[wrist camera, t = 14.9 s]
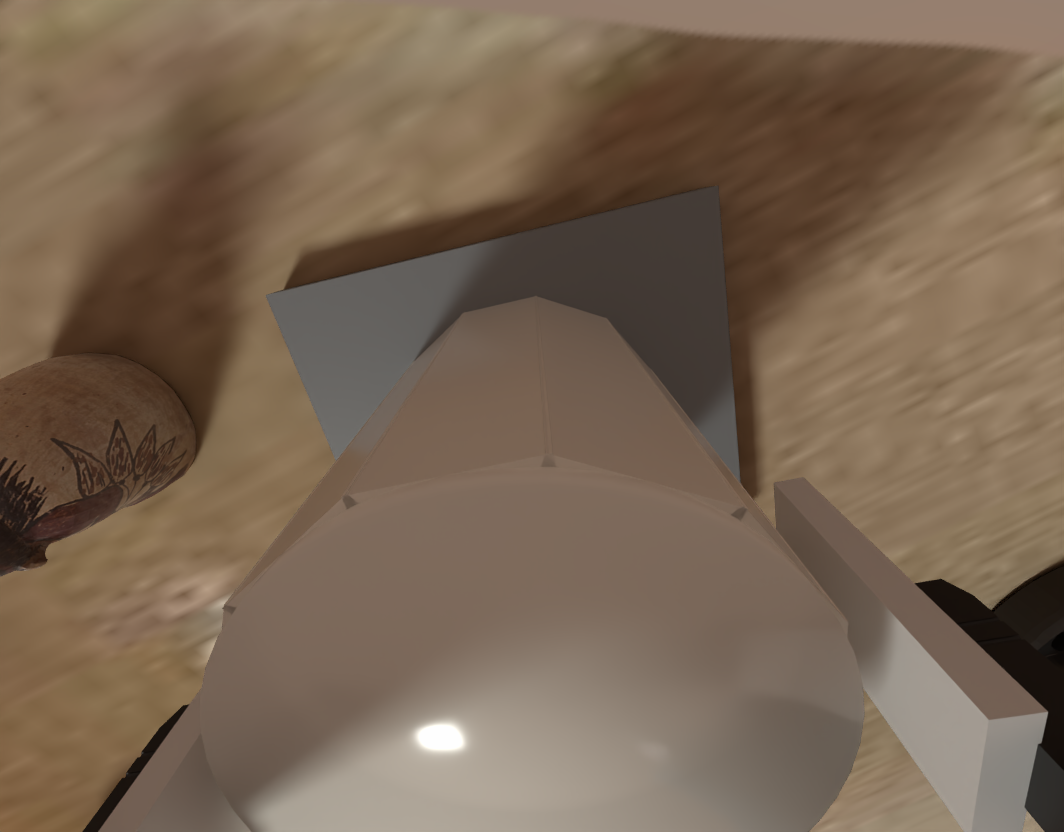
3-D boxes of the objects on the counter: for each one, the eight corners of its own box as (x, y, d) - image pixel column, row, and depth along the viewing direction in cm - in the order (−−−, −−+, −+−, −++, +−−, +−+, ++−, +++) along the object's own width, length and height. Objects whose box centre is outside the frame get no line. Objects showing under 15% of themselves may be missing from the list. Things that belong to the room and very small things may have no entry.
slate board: (704, 187, 20) (718, 185, 18) (732, 518, 26) (744, 535, 24) (282, 289, 21) (265, 295, 20) (402, 580, 27) (395, 600, 26)
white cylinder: (637, 271, 19) (880, 402, 6) (670, 508, 24) (857, 897, 10) (367, 334, 20) (53, 570, 7) (445, 552, 25) (344, 961, 11)
